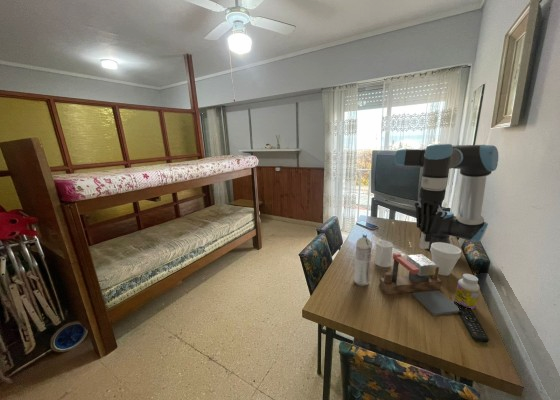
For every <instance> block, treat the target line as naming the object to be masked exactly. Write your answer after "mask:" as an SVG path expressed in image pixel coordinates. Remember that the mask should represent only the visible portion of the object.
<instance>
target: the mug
mask: <svg viewBox="0 0 560 400" xmlns="http://www.w3.org/2000/svg"><path fill="white" fill-rule="evenodd" d="M393 248H394V247H393V243H392V242H390V241H388V240H383V239H382V240H377V241H376V243H375V254H374V264H375V265H377V266H378V267H381V268H389V267H391V266H392V258H393Z"/></svg>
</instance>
